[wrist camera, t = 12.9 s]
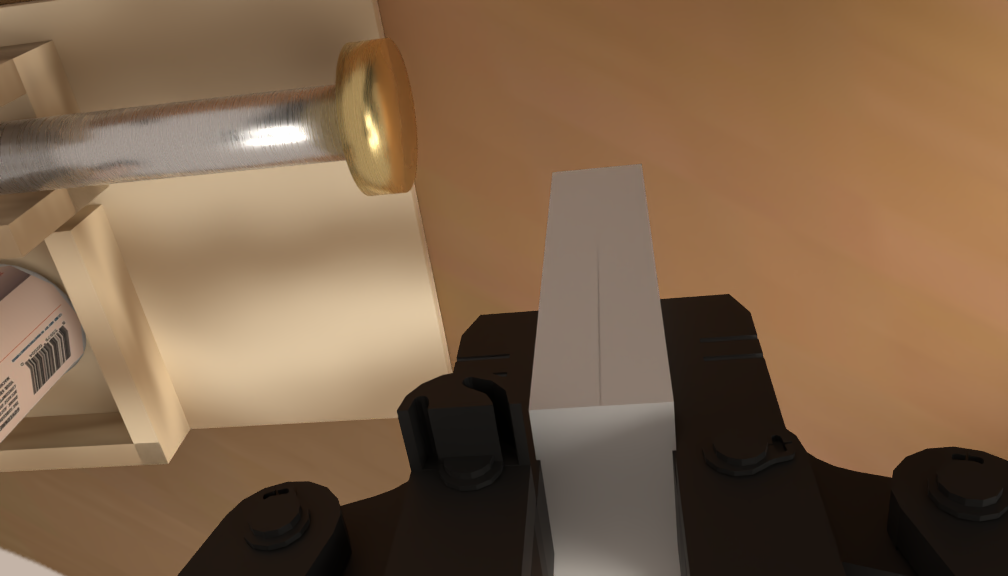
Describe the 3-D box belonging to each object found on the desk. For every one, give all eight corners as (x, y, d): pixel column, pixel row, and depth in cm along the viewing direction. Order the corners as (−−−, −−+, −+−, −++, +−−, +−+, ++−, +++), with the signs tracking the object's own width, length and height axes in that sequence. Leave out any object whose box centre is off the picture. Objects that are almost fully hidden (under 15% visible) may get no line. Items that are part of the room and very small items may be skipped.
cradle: (-263, 41, 28) (-443, 93, 23) (368, -45, 25) (313, -5, 20) (-44, 432, 36) (-144, 534, 31) (459, 404, 33) (435, 511, 28)
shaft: (-1, 70, 25) (-95, 115, 22) (398, 21, 24) (364, 61, 20) (51, 196, 27) (-27, 255, 24) (424, 159, 26) (398, 217, 22)
